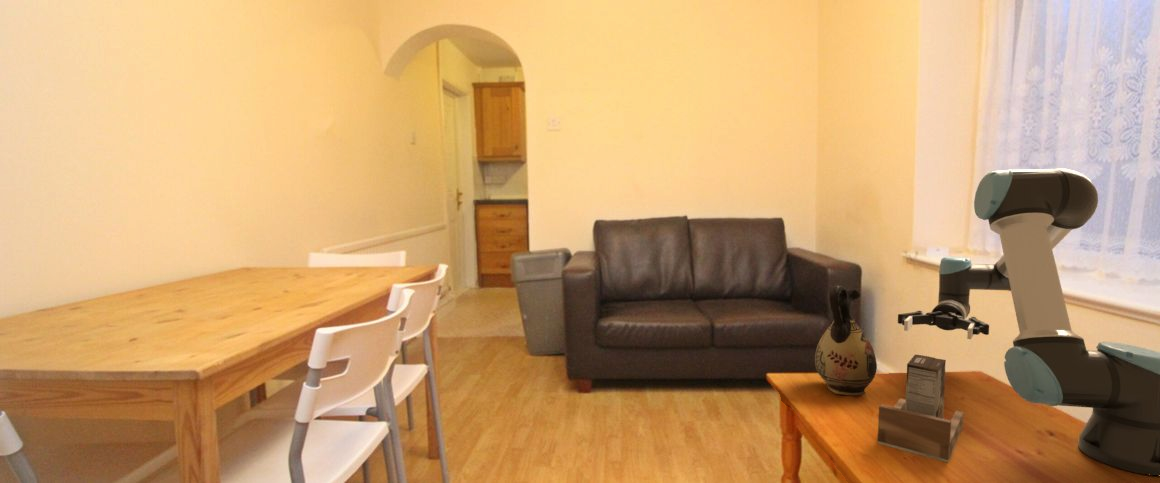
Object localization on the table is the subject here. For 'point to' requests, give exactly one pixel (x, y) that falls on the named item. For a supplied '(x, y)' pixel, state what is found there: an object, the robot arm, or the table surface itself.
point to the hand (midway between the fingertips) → (936, 329)
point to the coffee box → (925, 385)
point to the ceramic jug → (845, 349)
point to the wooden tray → (918, 431)
